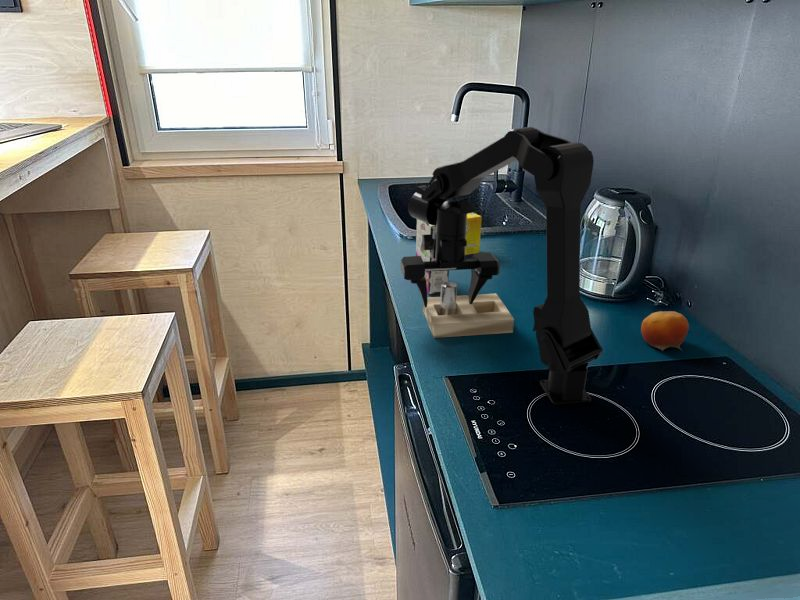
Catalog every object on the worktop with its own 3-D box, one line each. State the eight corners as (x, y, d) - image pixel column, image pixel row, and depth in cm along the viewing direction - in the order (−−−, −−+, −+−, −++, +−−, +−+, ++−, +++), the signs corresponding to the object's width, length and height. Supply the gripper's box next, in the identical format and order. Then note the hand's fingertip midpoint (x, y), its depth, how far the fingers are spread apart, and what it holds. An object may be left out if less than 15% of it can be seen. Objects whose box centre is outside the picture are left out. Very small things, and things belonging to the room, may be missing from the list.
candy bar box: (449, 293, 128) (452, 224, 121) (428, 295, 127) (430, 226, 120) (434, 274, 138) (436, 209, 131) (414, 276, 137) (415, 211, 130)
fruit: (665, 355, 101) (658, 311, 102) (637, 355, 109) (630, 315, 110) (703, 349, 103) (695, 306, 104) (672, 350, 111) (666, 310, 112)
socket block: (512, 332, 112) (514, 319, 110) (433, 337, 110) (434, 324, 108) (495, 305, 122) (496, 293, 121) (422, 310, 120) (423, 297, 119)
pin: (456, 323, 114) (458, 288, 111) (441, 324, 114) (442, 288, 110) (453, 316, 117) (455, 281, 113) (438, 317, 117) (439, 282, 113)
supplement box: (448, 251, 152) (450, 212, 148) (467, 248, 155) (470, 209, 150) (460, 258, 148) (462, 218, 143) (479, 255, 150) (482, 215, 145)
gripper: (486, 216, 115) (482, 286, 122) (396, 220, 113) (397, 291, 120) (503, 234, 105) (497, 308, 112) (405, 239, 103) (404, 314, 110)
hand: (447, 304), depth 114 cm, fingers open, 9 cm apart
